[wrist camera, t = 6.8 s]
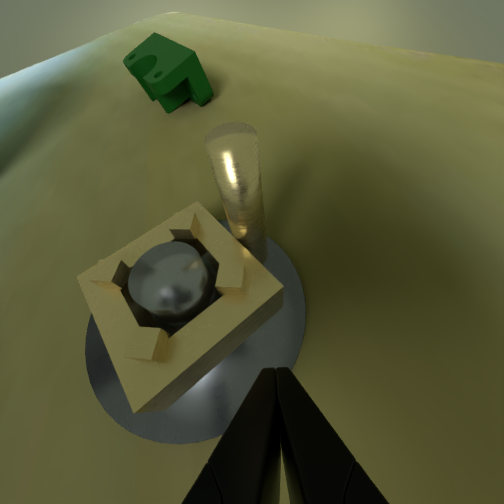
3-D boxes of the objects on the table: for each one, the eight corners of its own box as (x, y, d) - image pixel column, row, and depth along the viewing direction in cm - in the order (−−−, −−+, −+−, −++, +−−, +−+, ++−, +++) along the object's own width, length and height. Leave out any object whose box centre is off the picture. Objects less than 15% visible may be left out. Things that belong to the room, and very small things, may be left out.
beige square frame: (307, 285, 14) (333, 172, 7) (165, 410, 12) (-21, 429, 4) (230, 215, 18) (196, 94, 11) (110, 296, 15) (-40, 207, 8)
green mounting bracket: (168, 124, 38) (120, 63, 32) (196, 101, 38) (153, 36, 32) (183, 125, 28) (119, 39, 23) (219, 94, 29) (165, 1, 23)
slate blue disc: (323, 438, 12) (351, 466, 7) (60, 442, 13) (-68, 468, 8) (291, 220, 19) (294, 163, 14) (128, 234, 20) (82, 185, 15)
